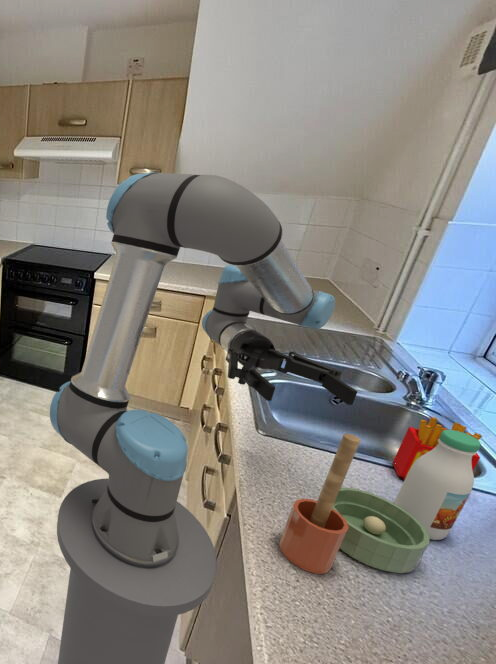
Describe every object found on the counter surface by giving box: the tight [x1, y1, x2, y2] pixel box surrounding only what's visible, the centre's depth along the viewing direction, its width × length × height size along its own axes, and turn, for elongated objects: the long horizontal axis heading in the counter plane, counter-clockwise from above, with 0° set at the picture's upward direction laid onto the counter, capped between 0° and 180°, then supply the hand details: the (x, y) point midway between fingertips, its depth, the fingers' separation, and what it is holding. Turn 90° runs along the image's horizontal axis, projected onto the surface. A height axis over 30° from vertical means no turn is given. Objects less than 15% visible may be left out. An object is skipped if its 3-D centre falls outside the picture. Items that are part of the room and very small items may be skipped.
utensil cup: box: [279, 498, 349, 575], centre depth 70 cm, size 7×7×9 cm
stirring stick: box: [309, 433, 361, 528], centre depth 67 cm, size 2×2×24 cm
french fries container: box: [391, 416, 483, 481], centre depth 87 cm, size 7×9×14 cm
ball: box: [363, 516, 386, 535], centre depth 75 cm, size 3×3×3 cm
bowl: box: [333, 486, 431, 574], centre depth 73 cm, size 13×13×6 cm
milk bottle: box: [393, 429, 482, 541], centre depth 75 cm, size 8×8×20 cm
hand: (311, 396), depth 71 cm, fingers open, 13 cm apart
